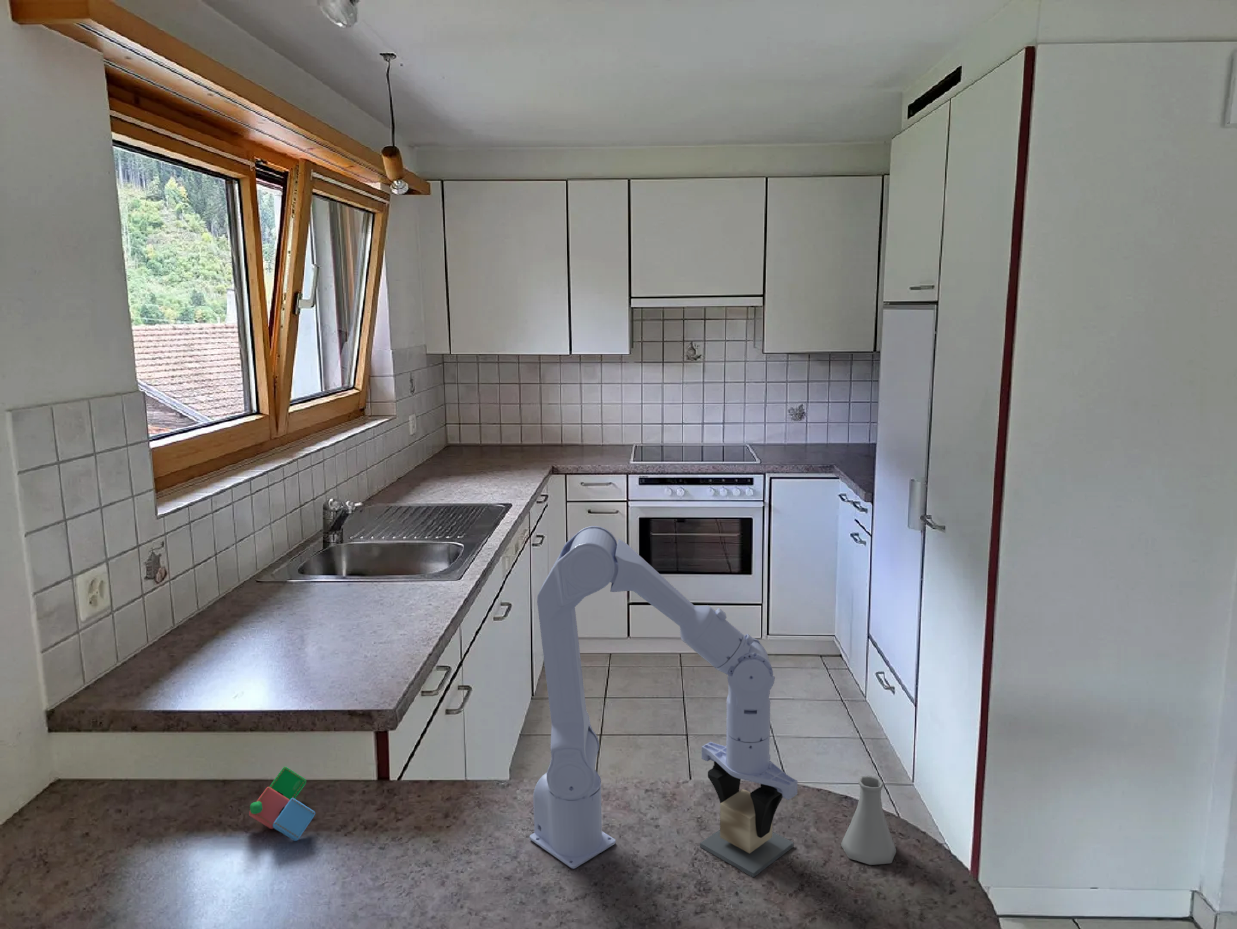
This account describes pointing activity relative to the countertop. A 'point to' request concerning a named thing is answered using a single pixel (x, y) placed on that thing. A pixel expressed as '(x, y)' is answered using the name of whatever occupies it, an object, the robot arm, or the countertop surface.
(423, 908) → the countertop surface
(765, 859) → the coaster
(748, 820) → the block
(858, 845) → the flask
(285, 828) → the building blocks
